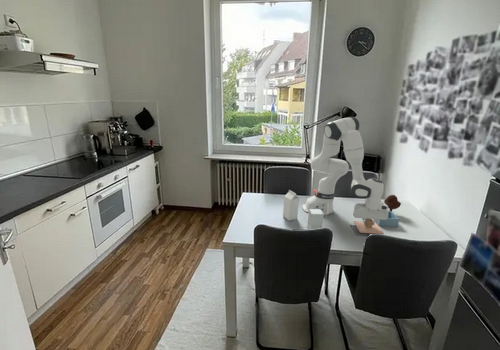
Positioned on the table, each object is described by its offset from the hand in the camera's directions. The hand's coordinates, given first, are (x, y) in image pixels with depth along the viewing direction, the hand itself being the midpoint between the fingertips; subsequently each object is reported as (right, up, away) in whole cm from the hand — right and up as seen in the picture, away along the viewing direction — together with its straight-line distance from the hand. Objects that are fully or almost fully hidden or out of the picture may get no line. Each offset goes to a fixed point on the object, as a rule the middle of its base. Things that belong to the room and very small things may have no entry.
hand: (368, 224), depth 174 cm
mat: (0, -4, +1) cm, 5 cm away
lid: (0, -2, +1) cm, 2 cm away
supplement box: (-34, -4, 0) cm, 34 cm away
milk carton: (-47, +2, +15) cm, 50 cm away
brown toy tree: (+28, +3, +28) cm, 39 cm away
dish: (+17, -1, +14) cm, 22 cm away
